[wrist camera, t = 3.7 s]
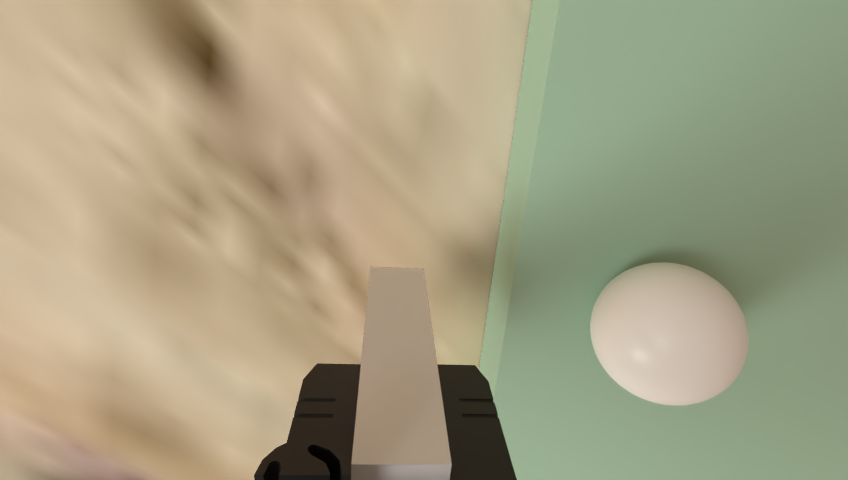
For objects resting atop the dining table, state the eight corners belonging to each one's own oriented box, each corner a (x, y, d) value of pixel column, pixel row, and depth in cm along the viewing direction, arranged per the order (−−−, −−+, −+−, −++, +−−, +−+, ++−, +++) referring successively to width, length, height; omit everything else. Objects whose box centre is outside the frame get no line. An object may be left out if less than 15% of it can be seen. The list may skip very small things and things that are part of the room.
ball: (584, 238, 14) (652, 306, 10) (706, 243, 14) (815, 311, 11) (560, 346, 16) (612, 438, 12) (671, 348, 16) (755, 439, 12)
